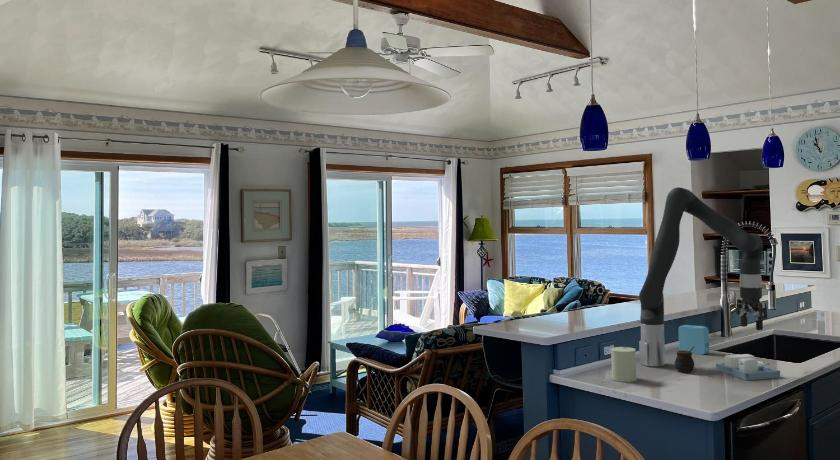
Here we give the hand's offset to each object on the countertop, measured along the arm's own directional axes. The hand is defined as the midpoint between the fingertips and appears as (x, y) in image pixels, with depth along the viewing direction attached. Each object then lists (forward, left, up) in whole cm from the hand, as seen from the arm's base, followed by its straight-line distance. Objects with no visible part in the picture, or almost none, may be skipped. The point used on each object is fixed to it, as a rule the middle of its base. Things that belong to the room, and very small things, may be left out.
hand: (751, 328), depth 241 cm
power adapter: (0, 0, -17) cm, 17 cm away
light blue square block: (+4, +45, -18) cm, 49 cm away
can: (-48, +10, -18) cm, 52 cm away
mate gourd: (-20, +14, -18) cm, 30 cm away
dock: (0, +4, -18) cm, 19 cm away
